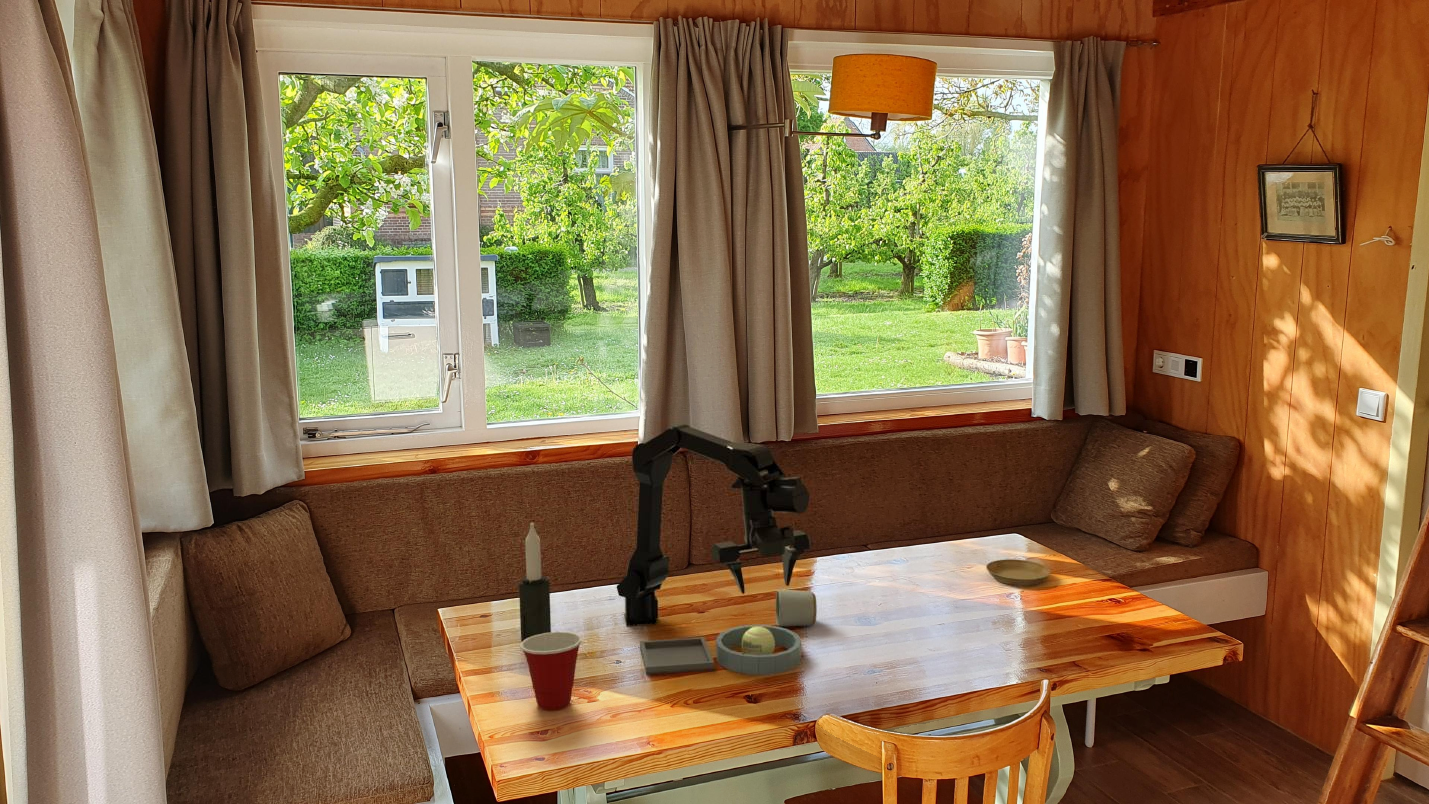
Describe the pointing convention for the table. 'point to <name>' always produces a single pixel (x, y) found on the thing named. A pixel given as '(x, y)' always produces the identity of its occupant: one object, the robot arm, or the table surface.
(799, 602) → the ceramic mug
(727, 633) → the gray open ring
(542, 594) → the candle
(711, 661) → the tray
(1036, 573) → the plant saucer
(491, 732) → the table surface
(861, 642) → the table surface
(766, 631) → the tennis ball
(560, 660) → the plastic cup
